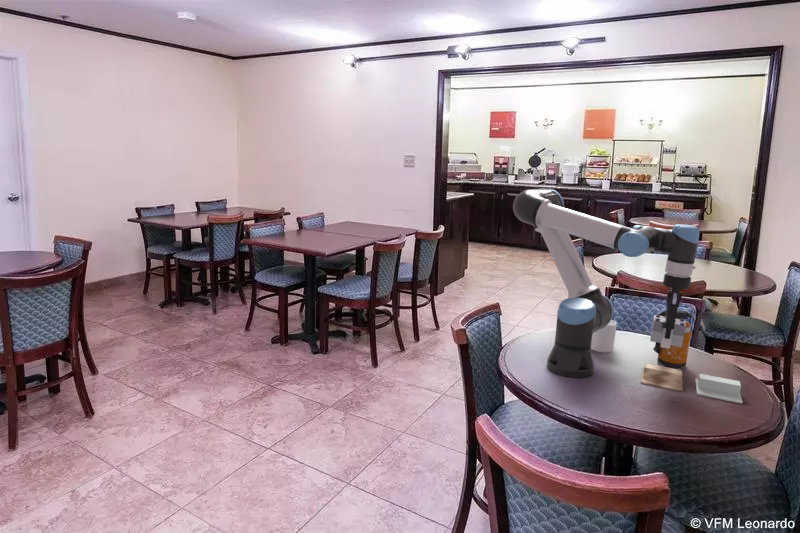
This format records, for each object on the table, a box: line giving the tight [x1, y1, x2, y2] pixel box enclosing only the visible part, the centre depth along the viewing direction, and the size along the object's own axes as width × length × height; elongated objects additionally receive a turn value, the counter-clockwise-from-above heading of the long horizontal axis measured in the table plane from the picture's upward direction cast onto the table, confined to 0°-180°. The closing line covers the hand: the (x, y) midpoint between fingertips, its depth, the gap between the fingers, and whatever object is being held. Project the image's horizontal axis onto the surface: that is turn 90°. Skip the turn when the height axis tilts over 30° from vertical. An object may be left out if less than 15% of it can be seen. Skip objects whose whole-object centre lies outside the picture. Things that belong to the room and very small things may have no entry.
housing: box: [649, 313, 686, 347], centre depth 172 cm, size 9×6×7 cm
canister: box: [652, 310, 693, 370], centre depth 186 cm, size 9×11×20 cm
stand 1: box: [640, 362, 684, 392], centre depth 175 cm, size 12×12×4 cm
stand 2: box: [694, 373, 743, 405], centre depth 168 cm, size 12×12×4 cm
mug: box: [591, 319, 618, 354], centre depth 201 cm, size 9×12×11 cm
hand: (665, 343), depth 173 cm, fingers closed on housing, 6 cm apart
